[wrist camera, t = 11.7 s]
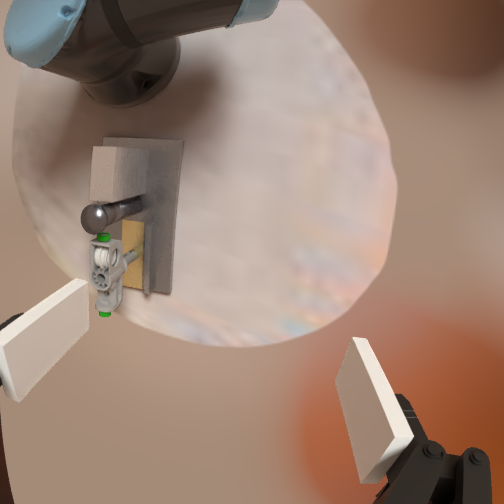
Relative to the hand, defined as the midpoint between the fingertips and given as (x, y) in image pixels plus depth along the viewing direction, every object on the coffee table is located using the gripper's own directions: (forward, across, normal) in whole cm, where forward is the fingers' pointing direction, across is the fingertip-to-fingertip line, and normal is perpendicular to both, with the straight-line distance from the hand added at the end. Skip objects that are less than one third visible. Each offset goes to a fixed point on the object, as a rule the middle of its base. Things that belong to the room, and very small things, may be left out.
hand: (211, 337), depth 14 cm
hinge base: (+29, -16, -2) cm, 33 cm away
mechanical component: (+28, -16, -7) cm, 33 cm away
